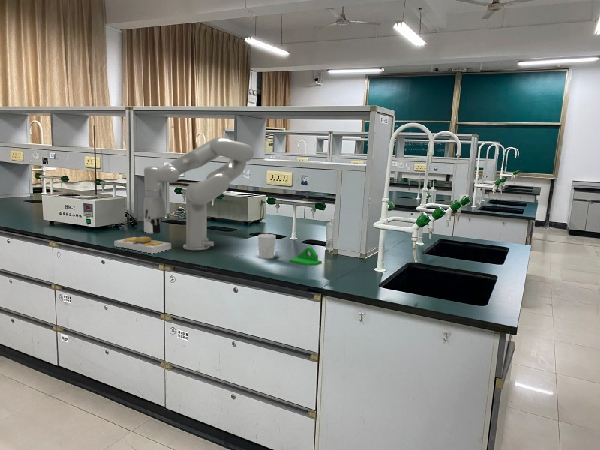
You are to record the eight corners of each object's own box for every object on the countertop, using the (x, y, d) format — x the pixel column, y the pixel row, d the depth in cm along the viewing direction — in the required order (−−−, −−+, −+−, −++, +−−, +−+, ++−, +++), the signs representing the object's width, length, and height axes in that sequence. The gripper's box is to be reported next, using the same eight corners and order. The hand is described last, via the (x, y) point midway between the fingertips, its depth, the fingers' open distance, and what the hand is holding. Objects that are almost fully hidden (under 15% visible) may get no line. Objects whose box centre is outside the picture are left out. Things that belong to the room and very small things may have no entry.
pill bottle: (147, 234, 245) (146, 207, 243) (141, 231, 251) (141, 205, 249) (161, 232, 250) (160, 206, 248) (155, 230, 256) (155, 204, 254)
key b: (151, 243, 214) (151, 237, 213) (143, 245, 209) (143, 239, 209) (143, 242, 216) (143, 236, 216) (135, 243, 212) (135, 238, 211)
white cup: (255, 255, 208) (256, 234, 206) (272, 254, 211) (272, 233, 209) (260, 259, 201) (260, 237, 199) (277, 258, 203) (277, 237, 202)
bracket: (289, 262, 198) (289, 247, 197) (299, 259, 205) (299, 244, 203) (312, 267, 192) (312, 252, 191) (321, 264, 198) (322, 249, 197)
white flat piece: (170, 249, 213) (170, 241, 212) (152, 254, 202) (152, 246, 202) (134, 242, 223) (133, 235, 223) (114, 247, 213) (114, 239, 212)
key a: (162, 248, 211) (162, 242, 211) (154, 250, 207) (154, 244, 206) (154, 246, 213) (154, 241, 213) (146, 248, 209) (146, 242, 208)
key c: (140, 244, 217) (140, 238, 217) (132, 246, 213) (132, 240, 212) (133, 242, 219) (132, 237, 219) (124, 244, 215) (124, 239, 214)
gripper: (159, 191, 214) (162, 229, 217) (135, 195, 201) (138, 235, 204) (171, 192, 210) (173, 230, 214) (147, 196, 197) (150, 236, 201)
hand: (156, 232), depth 209 cm, fingers closed
